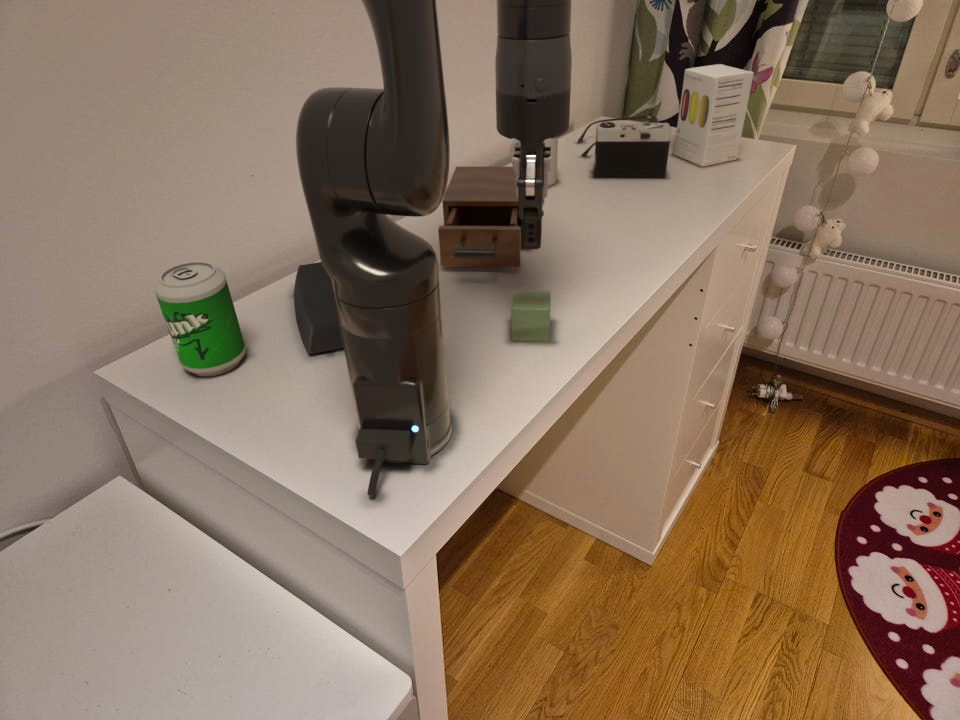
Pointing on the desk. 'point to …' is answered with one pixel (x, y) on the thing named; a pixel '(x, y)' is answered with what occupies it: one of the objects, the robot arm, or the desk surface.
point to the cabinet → (480, 188)
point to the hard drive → (316, 309)
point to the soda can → (200, 318)
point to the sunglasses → (651, 117)
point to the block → (531, 316)
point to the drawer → (481, 237)
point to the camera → (631, 150)
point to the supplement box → (712, 114)
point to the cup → (554, 149)
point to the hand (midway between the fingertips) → (531, 243)
